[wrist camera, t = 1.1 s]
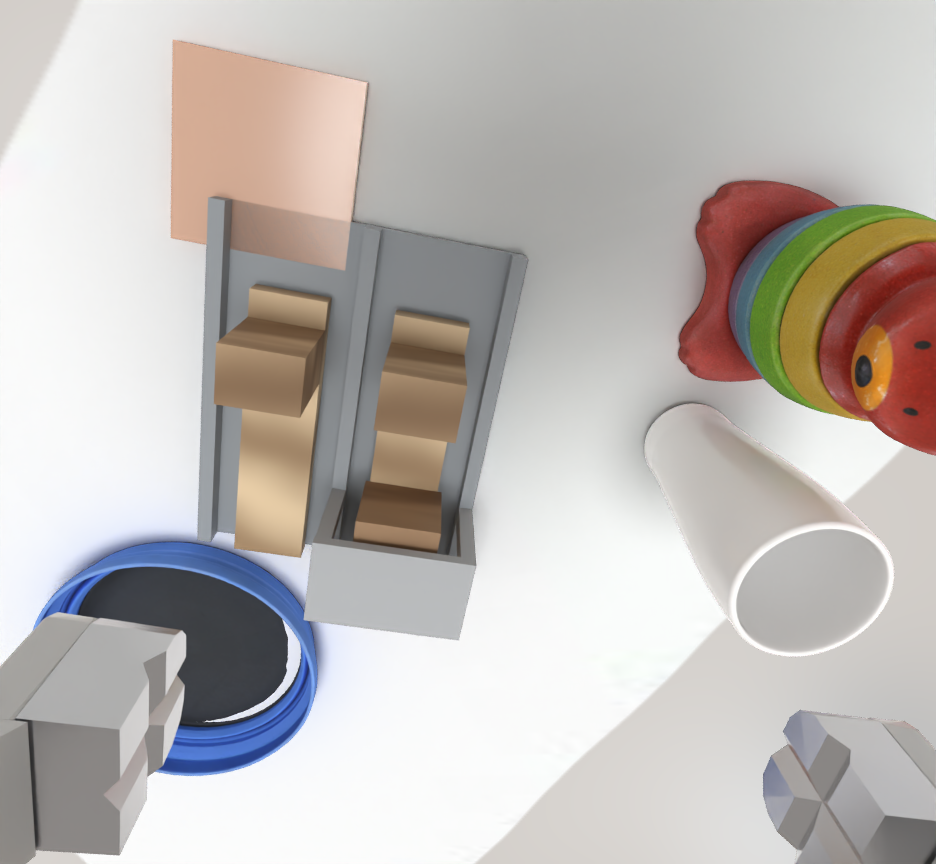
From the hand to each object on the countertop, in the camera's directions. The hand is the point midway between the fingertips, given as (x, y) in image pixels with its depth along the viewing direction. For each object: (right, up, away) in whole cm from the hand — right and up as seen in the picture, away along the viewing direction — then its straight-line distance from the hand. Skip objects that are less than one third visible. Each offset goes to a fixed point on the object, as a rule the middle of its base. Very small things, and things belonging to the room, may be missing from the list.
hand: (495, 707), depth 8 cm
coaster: (-10, +17, +24) cm, 31 cm away
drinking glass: (+13, +3, +31) cm, 34 cm away
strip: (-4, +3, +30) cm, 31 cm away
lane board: (-7, +5, +29) cm, 30 cm away
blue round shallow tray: (-20, -11, +36) cm, 43 cm away
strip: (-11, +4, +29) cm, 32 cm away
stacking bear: (+17, +12, +27) cm, 34 cm away
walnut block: (-5, -2, +30) cm, 31 cm away
